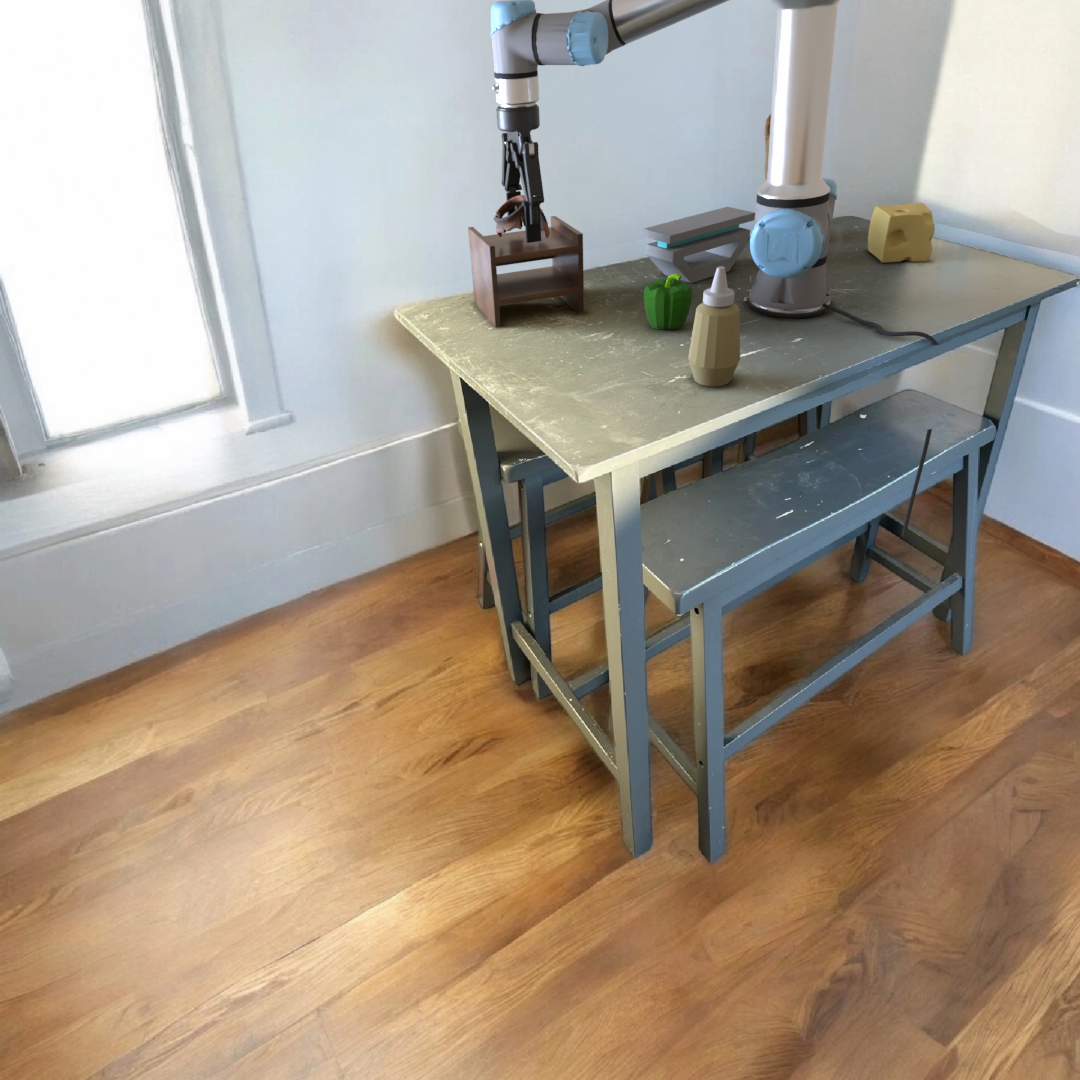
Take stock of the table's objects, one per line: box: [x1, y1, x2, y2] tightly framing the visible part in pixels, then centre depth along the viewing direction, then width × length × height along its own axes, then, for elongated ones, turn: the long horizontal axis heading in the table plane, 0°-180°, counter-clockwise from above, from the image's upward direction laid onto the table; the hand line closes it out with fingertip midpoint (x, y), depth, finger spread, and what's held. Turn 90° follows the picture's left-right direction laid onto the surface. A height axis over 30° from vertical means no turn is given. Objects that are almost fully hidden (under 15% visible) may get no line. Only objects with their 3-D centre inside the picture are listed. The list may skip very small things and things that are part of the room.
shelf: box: [467, 215, 585, 328], centre depth 165 cm, size 15×18×15 cm
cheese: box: [867, 202, 936, 264], centre depth 184 cm, size 10×11×10 cm
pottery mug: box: [493, 194, 550, 238], centre depth 160 cm, size 12×10×8 cm
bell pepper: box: [643, 273, 693, 330], centre depth 155 cm, size 8×8×10 cm
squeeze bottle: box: [687, 266, 741, 387], centre depth 132 cm, size 8×8×18 cm
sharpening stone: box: [642, 206, 756, 284], centre depth 180 cm, size 25×8×11 cm, turn 127°
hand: (524, 234), depth 161 cm, fingers closed on pottery mug, 10 cm apart
